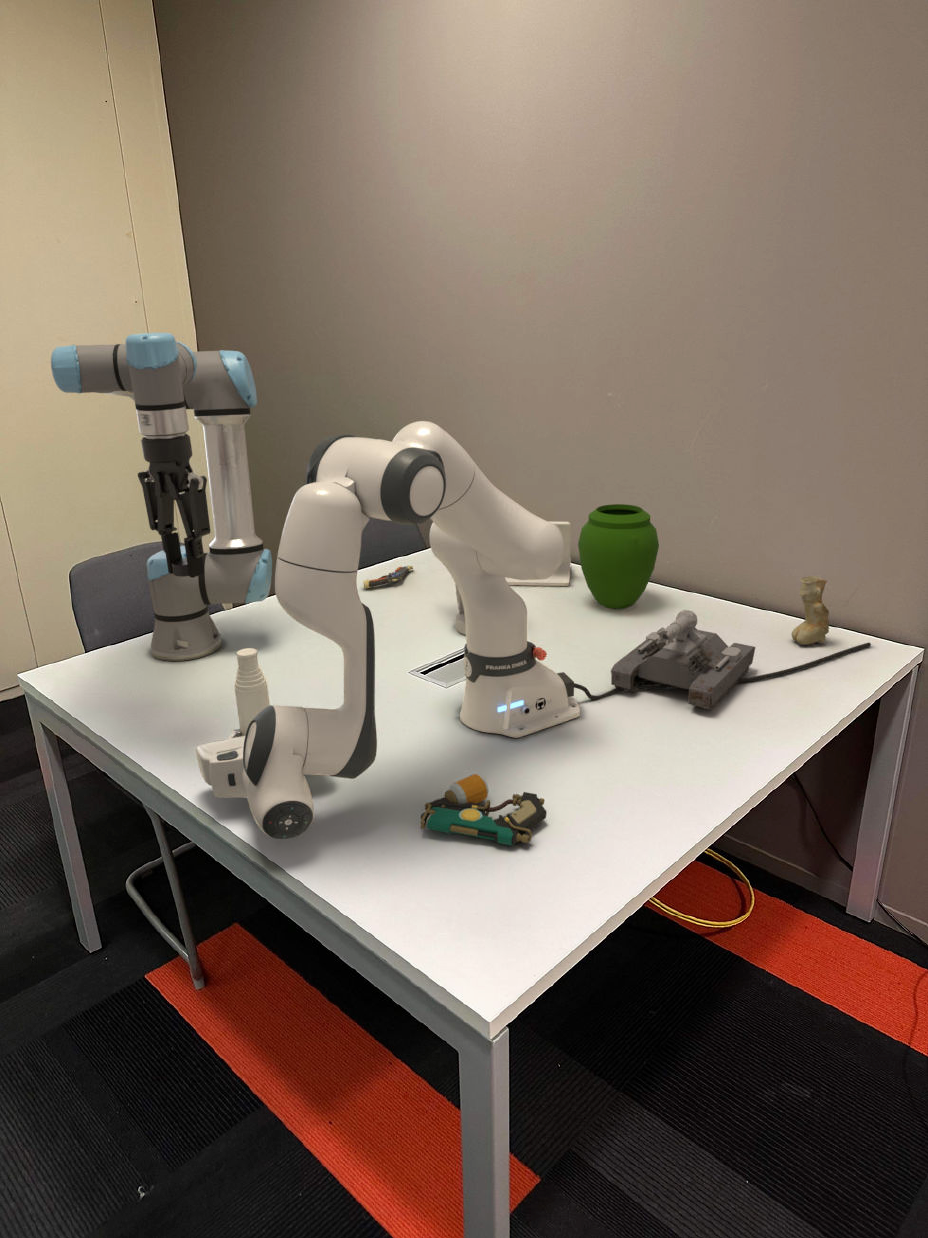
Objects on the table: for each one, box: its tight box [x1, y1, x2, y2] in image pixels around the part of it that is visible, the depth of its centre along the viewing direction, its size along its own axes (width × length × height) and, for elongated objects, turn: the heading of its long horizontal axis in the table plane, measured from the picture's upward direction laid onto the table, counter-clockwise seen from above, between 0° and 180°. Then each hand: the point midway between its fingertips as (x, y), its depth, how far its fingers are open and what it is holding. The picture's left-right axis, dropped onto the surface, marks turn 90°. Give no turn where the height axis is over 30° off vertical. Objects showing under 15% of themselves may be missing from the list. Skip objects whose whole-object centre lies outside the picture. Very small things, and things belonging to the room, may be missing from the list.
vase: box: [577, 503, 660, 610], centre depth 210 cm, size 20×20×24 cm
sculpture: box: [791, 575, 830, 646], centre depth 185 cm, size 6×7×15 cm
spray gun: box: [420, 773, 547, 846], centre depth 126 cm, size 4×17×15 cm
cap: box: [172, 558, 189, 577], centre depth 145 cm, size 4×4×2 cm
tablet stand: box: [505, 521, 572, 587], centre depth 236 cm, size 18×25×17 cm
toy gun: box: [362, 565, 414, 589], centre depth 238 cm, size 3×19×10 cm
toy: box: [610, 609, 756, 711], centre depth 169 cm, size 25×20×15 cm
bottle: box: [234, 647, 271, 736], centre depth 141 cm, size 5×5×21 cm
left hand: (186, 572), depth 145 cm, fingers closed on cap, 4 cm apart
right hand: (255, 729), depth 144 cm, fingers closed on bottle, 5 cm apart
